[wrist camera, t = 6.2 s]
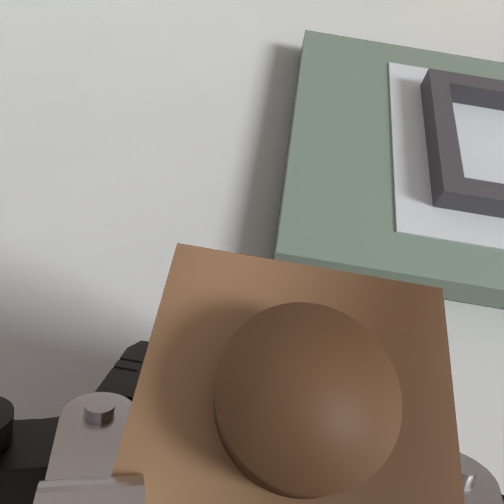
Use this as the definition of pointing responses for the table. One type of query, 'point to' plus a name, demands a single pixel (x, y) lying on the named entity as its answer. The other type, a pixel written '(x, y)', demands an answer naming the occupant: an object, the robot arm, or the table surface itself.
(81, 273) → the table surface
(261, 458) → the walnut block
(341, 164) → the foundation board
